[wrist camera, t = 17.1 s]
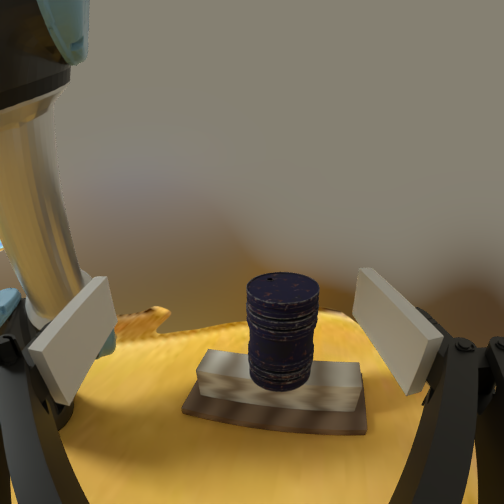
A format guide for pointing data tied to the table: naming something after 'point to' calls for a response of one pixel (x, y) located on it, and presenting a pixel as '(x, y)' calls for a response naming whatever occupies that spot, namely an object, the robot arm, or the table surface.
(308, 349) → the storage jar
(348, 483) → the table surface
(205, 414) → the ridge stand
